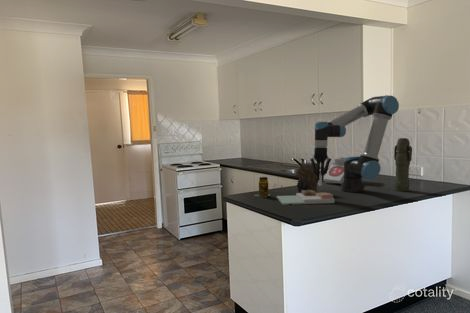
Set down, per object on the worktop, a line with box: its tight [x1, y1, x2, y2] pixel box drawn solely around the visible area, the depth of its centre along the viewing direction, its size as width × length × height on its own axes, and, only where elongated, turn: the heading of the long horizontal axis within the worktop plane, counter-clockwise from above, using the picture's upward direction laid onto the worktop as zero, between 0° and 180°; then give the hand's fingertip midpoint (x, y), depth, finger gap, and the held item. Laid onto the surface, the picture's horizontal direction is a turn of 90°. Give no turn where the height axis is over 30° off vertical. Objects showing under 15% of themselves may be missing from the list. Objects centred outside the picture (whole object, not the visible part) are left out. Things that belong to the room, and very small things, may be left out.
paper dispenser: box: [322, 156, 345, 185], centre depth 268 cm, size 19×30×18 cm, turn 131°
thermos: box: [393, 137, 413, 192], centre depth 234 cm, size 9×12×35 cm
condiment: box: [254, 176, 271, 198], centre depth 225 cm, size 7×8×12 cm
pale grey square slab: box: [295, 191, 336, 205], centre depth 211 cm, size 18×18×2 cm
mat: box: [276, 194, 305, 206], centre depth 210 cm, size 12×19×1 cm, turn 4°
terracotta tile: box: [317, 192, 334, 199], centre depth 206 cm, size 7×7×2 cm
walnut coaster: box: [301, 190, 317, 196], centre depth 215 cm, size 7×7×2 cm
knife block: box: [296, 161, 318, 193], centre depth 231 cm, size 13×13×20 cm
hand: (319, 185), depth 215 cm, fingers closed
